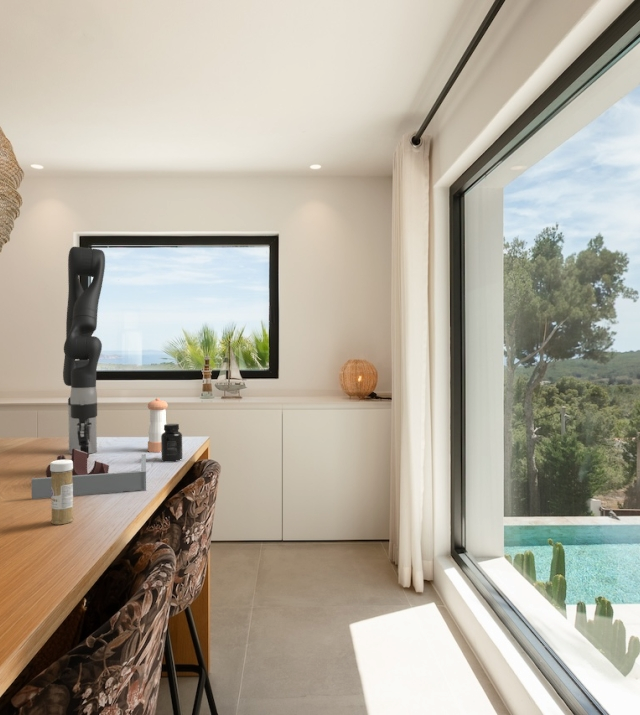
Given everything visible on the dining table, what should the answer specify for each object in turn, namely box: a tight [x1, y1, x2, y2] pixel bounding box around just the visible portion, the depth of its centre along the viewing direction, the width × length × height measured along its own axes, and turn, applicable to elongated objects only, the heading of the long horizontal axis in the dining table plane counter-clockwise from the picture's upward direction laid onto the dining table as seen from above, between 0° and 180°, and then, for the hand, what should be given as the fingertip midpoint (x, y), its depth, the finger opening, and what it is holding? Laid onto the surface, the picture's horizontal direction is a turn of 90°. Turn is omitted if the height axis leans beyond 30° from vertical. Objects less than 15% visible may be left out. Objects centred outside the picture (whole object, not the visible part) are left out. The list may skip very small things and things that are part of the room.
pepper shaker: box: [147, 397, 169, 453], centre depth 208 cm, size 7×7×19 cm
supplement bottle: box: [160, 423, 183, 462], centre depth 191 cm, size 7×7×12 cm
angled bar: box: [30, 453, 147, 500], centre depth 160 cm, size 25×28×5 cm
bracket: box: [45, 449, 110, 477], centre depth 160 cm, size 6×17×10 cm, turn 82°
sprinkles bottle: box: [49, 459, 74, 525], centre depth 125 cm, size 5×5×14 cm
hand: (84, 458), depth 174 cm, fingers closed
